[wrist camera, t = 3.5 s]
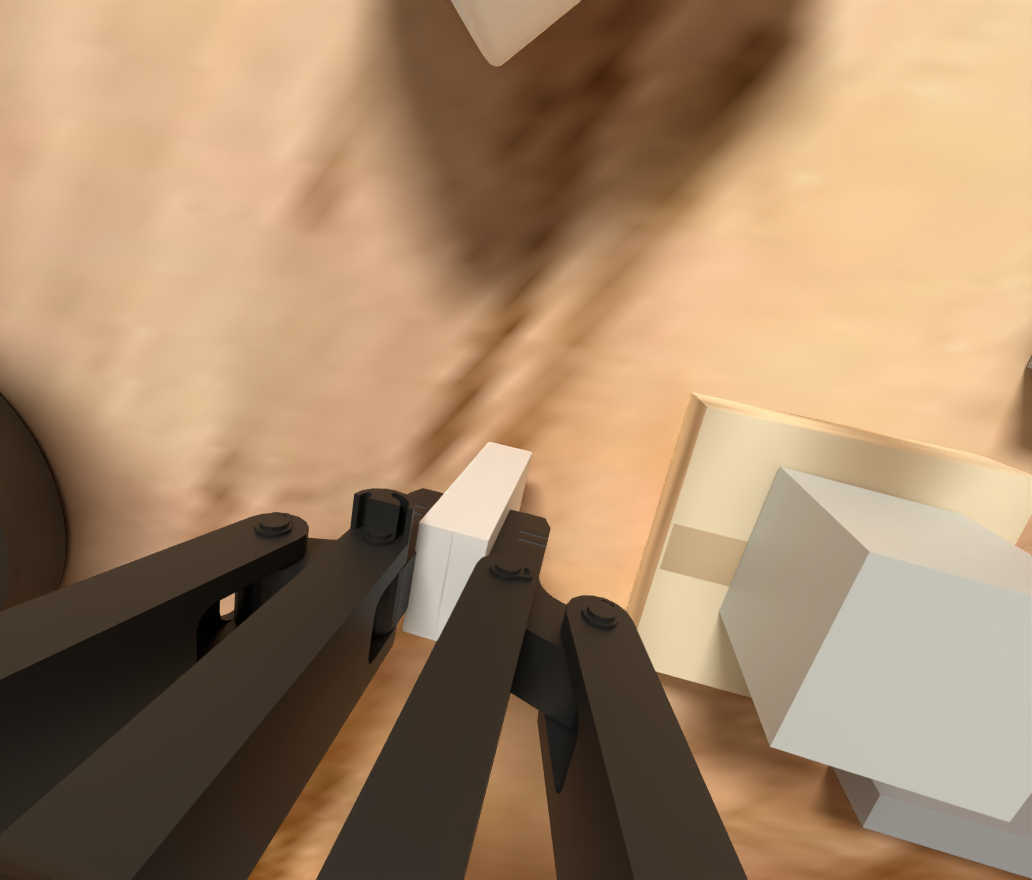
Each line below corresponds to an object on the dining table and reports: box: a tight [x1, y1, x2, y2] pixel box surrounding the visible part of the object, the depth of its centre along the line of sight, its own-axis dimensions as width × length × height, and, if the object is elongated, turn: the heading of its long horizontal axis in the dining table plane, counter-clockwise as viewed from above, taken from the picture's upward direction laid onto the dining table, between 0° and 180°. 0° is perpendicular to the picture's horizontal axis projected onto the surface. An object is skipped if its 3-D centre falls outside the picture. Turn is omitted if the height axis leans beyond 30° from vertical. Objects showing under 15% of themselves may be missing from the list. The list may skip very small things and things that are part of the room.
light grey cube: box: [720, 467, 1032, 822], centre depth 12 cm, size 5×5×5 cm
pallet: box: [626, 392, 1032, 698], centre depth 16 cm, size 9×9×3 cm
